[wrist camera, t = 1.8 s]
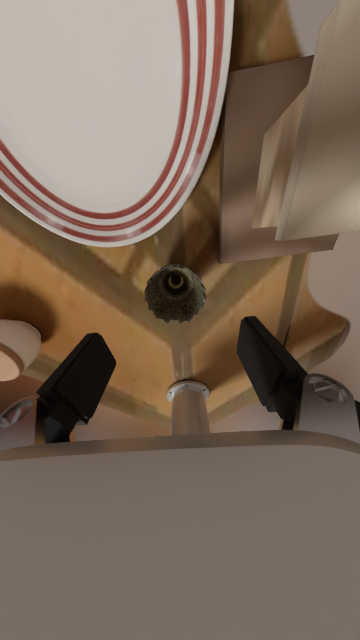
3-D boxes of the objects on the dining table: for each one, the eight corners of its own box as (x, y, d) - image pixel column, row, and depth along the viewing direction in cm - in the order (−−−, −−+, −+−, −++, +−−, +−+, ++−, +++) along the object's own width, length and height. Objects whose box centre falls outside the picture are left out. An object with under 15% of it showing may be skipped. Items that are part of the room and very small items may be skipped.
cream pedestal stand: (323, 248, 21) (420, 258, 13) (217, 262, 22) (242, 280, 13) (399, 53, 13) (856, -320, 4) (222, 87, 13) (297, -161, 5)
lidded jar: (-11, 333, 29) (-83, 371, 21) (-3, 298, 25) (-88, 329, 17) (45, 357, 33) (2, 397, 25) (60, 330, 29) (15, 368, 21)
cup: (153, 297, 25) (143, 321, 18) (154, 252, 21) (143, 262, 14) (193, 302, 26) (198, 327, 19) (202, 260, 22) (213, 272, 15)
